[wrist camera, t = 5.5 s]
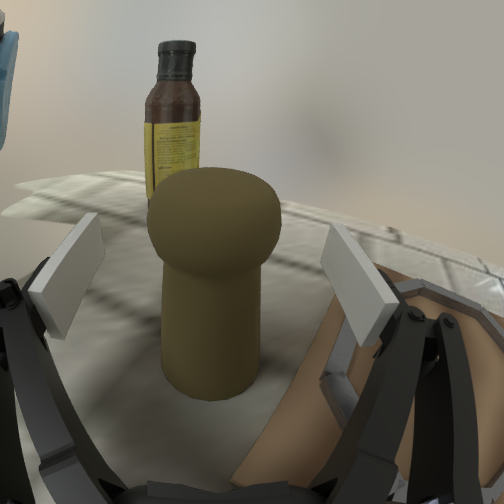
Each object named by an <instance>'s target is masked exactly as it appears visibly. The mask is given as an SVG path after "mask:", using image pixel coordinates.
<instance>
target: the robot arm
mask: <svg viewBox="0 0 504 504" xmlns="http://www.w3.org/2000/svg"><path fill="white" fill-rule="evenodd" d="M4 20H5V13H4V12H2V11H1V10H0V150H1V149H2V147H3V144H4V141H5V137H6V130H7V122H8V113H9V104H10V95H11V87H12V80H13V74H14V68H15V61H16V55H17V49H18V39H19V34H18V32H12V31H8V32H6V33H5V34H4V32H3V29H4ZM104 256H105V250H104V245H103V239H102V234H101V228H100V222H99V215H98V213H86V214H85V215H84V216H83V217H82V219H81V220H80V221H79V222H78V223H77V224H76V226H75V227H74V228H73V229H72V230H71V232H70V233H69V234H68V235H67V237H66V238H65V239H64V240H63V242H62V243H61V244H60V245H59V247H58V248H57V249H56V251H55V252H54V253H53V255H52V256H51V257H47V258H46V259H45V260H43V261H42V262H41V263H40V264H39V265H38V267H37V268H36V271H34V272H33V274H32V277H30V278H29V280H28V281H27V282H26V284H25V285H24V287H23V288H22V290H21V291H20V289H19V286H18V284H17V282H16V280H15V279H13V278H8V279H5V280H3V281H1V282H0V504H35V499H34V495H33V492H32V488H31V484H30V481H29V478H28V474H27V470H26V466H25V462H24V458H23V453H22V448H21V443H20V437H19V431H18V424H17V416H16V407H15V394H14V388H15V392H16V395H17V399H18V402H19V405H20V408H21V411H22V414H23V417H24V420H25V423H26V426H27V428H28V431H29V434H30V436H31V439H32V441H33V443H34V446H35V448H36V450H37V453H38V455H39V457H40V460H41V464H40V465H39V472H40V475H41V477H42V479H43V481H44V483H45V485H46V487H47V489H48V491H49V492H50V494H51V496H52V498H53V499H54V501H55V503H56V504H385V502H386V500H387V498H388V496H389V493H390V491H391V489H392V486H393V484H394V482H395V479H396V477H397V474H398V466H397V465H396V464H395V457H396V454H397V452H398V449H399V446H400V443H401V440H402V437H403V434H404V431H405V428H406V425H407V421H408V418H409V414H410V411H411V407H412V403H413V399H414V395H415V405H414V434H413V447H412V458H411V466H410V474H409V481H408V488H407V500H406V504H484V503H483V497H482V491H481V486H480V481H479V476H478V472H479V442H478V424H477V413H476V404H475V396H474V389H473V383H472V377H471V372H470V367H469V362H468V357H467V353H466V348H465V344H464V340H463V336H462V333H461V329H460V325H459V323H458V321H457V320H456V318H455V317H454V316H453V315H451V314H449V313H445V312H443V313H440V315H439V316H438V318H437V319H436V320H435V319H430V318H427V317H426V316H425V314H424V313H423V312H422V311H421V310H420V309H419V308H417V307H414V306H408V304H407V303H406V301H405V300H404V298H403V297H402V295H401V294H400V292H399V291H398V289H397V288H396V286H395V285H394V284H393V283H392V281H391V279H390V278H389V277H388V275H387V274H386V273H384V272H383V271H382V270H381V269H376V267H375V266H374V264H373V263H372V262H371V260H370V259H369V258H368V256H367V255H366V253H365V252H364V251H363V249H362V248H361V247H360V245H359V244H358V243H357V241H356V240H355V239H354V237H353V236H352V235H351V234H350V232H349V231H348V230H347V228H346V227H345V226H344V225H343V224H338V223H331V226H330V229H329V233H328V237H327V240H326V244H325V247H324V250H323V254H322V257H321V261H320V263H321V265H322V267H323V269H324V271H325V273H326V275H327V277H328V279H329V281H330V283H331V286H332V288H333V290H334V292H335V294H336V296H337V298H338V300H339V302H340V304H341V306H342V308H343V311H344V313H345V315H346V317H347V319H348V321H349V324H350V326H351V328H352V330H353V332H354V335H355V337H356V339H357V341H358V344H359V346H360V347H366V346H373V345H374V344H375V343H376V341H377V339H378V338H379V337H380V339H381V341H382V344H381V346H380V347H379V349H378V350H377V352H376V353H375V354H374V356H373V357H372V358H375V357H376V358H375V360H374V363H373V366H372V368H371V371H370V374H369V376H368V379H367V381H366V384H365V386H364V388H363V391H362V393H361V395H360V398H359V400H358V402H357V404H356V407H355V409H354V411H353V413H352V415H351V417H350V419H349V421H348V423H347V425H346V427H345V429H344V431H343V433H342V435H341V437H340V439H339V441H338V443H337V445H336V447H335V448H334V450H333V452H332V454H331V456H330V457H329V459H328V461H327V462H326V464H325V466H324V467H323V468H322V470H321V471H320V472H319V473H318V474H317V475H316V476H315V477H314V479H313V480H312V481H311V483H310V484H309V486H308V487H307V488H304V487H301V486H296V485H289V484H288V480H287V481H280V482H272V483H262V484H253V485H250V486H246V487H243V488H239V489H235V490H232V491H228V492H223V493H213V492H208V491H204V490H200V489H196V488H192V487H189V486H185V485H181V484H170V483H160V482H152V481H148V482H147V485H143V486H138V487H134V488H131V489H128V488H127V487H126V486H125V484H124V483H123V482H122V481H121V479H120V478H119V477H118V476H117V475H116V474H115V473H114V472H113V471H112V470H111V469H110V468H109V467H108V465H107V464H106V462H105V461H104V459H103V458H102V456H101V455H100V453H99V452H98V450H97V449H96V447H95V445H94V444H93V442H92V440H91V439H90V437H89V435H88V434H87V432H86V430H85V428H84V426H83V425H82V423H81V421H80V419H79V417H78V415H77V413H76V411H75V409H74V407H73V405H72V403H71V401H70V399H69V397H68V395H67V393H66V390H65V388H64V386H63V384H62V381H61V379H60V376H59V374H58V371H57V369H56V366H55V364H54V361H53V358H52V356H51V353H50V350H49V347H48V344H47V341H46V339H45V337H44V332H45V330H46V329H47V331H48V333H49V335H50V336H51V338H56V339H61V340H64V339H65V337H66V335H67V332H68V330H69V327H70V325H71V323H72V320H73V318H74V316H75V314H76V311H77V309H78V307H79V305H80V303H81V301H82V298H83V296H84V294H85V292H86V290H87V288H88V286H89V284H90V282H91V280H92V278H93V276H94V274H95V272H96V271H97V269H98V267H99V265H100V263H101V261H102V259H103V258H104ZM438 356H439V359H438Z"/></svg>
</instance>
